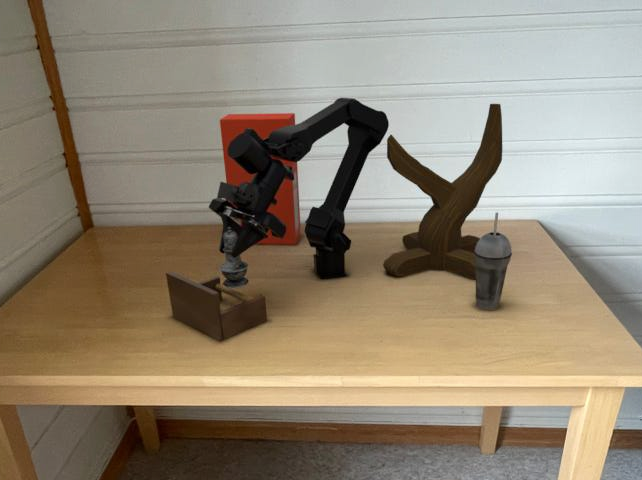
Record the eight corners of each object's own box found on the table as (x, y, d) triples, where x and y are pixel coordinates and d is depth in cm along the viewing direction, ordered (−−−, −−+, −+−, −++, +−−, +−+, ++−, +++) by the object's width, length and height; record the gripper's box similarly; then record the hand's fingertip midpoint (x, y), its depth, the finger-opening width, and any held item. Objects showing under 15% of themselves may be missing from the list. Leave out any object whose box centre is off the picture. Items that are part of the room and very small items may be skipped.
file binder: (295, 245, 169) (288, 118, 153) (232, 244, 172) (219, 119, 156) (300, 235, 176) (294, 112, 160) (240, 234, 179) (228, 114, 163)
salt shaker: (222, 278, 134) (214, 223, 128) (249, 275, 135) (244, 220, 129) (221, 289, 129) (213, 232, 123) (250, 287, 130) (244, 230, 123)
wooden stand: (458, 236, 170) (469, 95, 152) (523, 273, 146) (545, 111, 128) (357, 252, 163) (357, 106, 145) (409, 294, 139) (416, 126, 121)
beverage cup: (506, 300, 134) (518, 206, 124) (504, 315, 128) (516, 217, 118) (471, 296, 136) (479, 204, 126) (467, 311, 130) (475, 215, 120)
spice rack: (219, 299, 141) (214, 256, 136) (267, 320, 130) (263, 275, 125) (172, 317, 134) (165, 272, 129) (219, 341, 123) (213, 294, 118)
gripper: (210, 158, 128) (172, 225, 128) (270, 171, 116) (229, 245, 116) (244, 187, 137) (209, 251, 136) (303, 203, 125) (266, 272, 124)
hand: (226, 254), depth 128 cm, fingers closed on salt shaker, 3 cm apart
